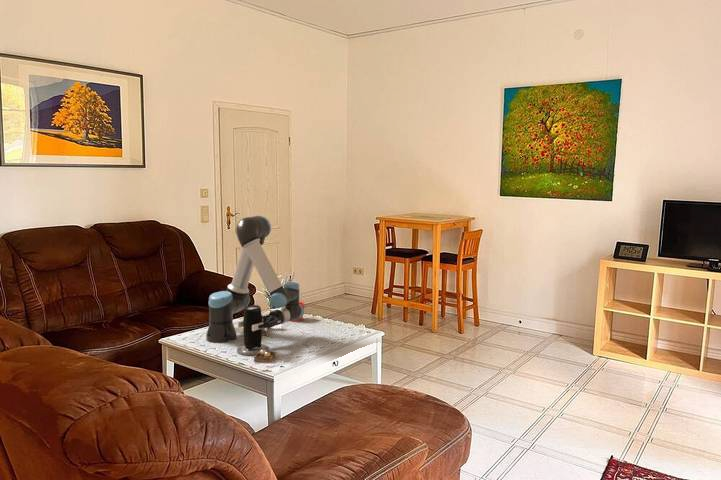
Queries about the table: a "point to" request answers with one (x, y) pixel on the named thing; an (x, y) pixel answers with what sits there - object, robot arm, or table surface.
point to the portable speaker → (250, 318)
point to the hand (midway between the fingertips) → (245, 326)
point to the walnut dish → (264, 359)
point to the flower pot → (302, 316)
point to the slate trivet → (251, 350)
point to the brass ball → (267, 354)
